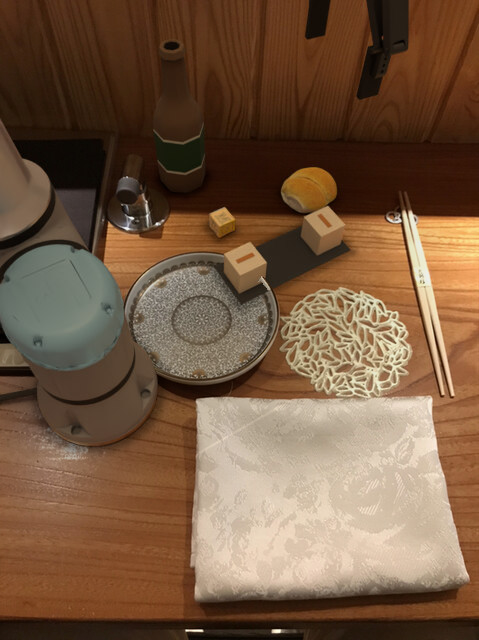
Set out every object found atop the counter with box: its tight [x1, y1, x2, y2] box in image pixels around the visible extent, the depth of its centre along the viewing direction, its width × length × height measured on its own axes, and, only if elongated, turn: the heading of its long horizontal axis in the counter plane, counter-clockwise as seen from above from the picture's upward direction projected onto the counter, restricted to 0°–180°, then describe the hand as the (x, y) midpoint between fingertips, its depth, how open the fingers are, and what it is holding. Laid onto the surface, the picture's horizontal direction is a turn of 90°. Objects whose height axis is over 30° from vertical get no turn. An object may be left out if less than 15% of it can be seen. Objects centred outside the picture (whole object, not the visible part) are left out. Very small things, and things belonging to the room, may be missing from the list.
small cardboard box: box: [223, 241, 267, 293], centre depth 82 cm, size 4×4×5 cm
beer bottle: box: [152, 38, 206, 194], centre depth 85 cm, size 8×8×24 cm
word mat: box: [213, 224, 352, 305], centre depth 86 cm, size 20×8×1 cm, turn 121°
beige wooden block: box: [301, 205, 346, 255], centre depth 86 cm, size 4×4×5 cm
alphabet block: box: [208, 206, 236, 239], centre depth 88 cm, size 3×3×3 cm
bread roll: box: [280, 166, 338, 214], centre depth 92 cm, size 8×9×4 cm
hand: (339, 64), depth 72 cm, fingers open, 13 cm apart
